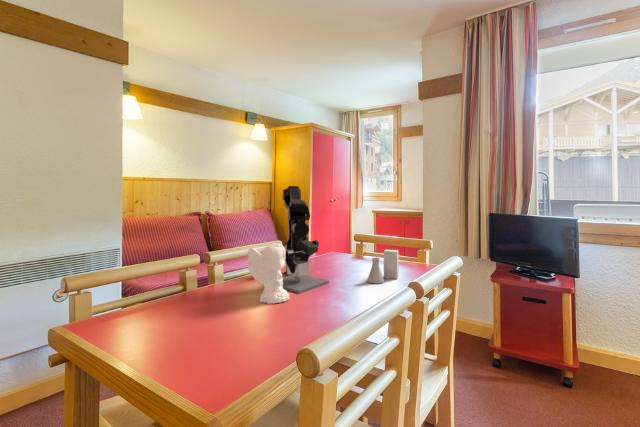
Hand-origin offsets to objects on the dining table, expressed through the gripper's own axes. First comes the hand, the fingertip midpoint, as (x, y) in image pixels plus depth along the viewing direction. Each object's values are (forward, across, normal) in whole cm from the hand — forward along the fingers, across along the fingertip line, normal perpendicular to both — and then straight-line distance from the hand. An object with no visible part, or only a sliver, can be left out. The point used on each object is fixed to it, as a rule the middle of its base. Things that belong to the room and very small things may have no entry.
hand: (298, 271), depth 137 cm
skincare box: (+5, +33, -25) cm, 42 cm away
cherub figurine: (+5, -20, -5) cm, 21 cm away
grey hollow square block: (+1, 0, 0) cm, 1 cm away
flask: (+5, +23, -23) cm, 33 cm away
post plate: (+5, 0, 0) cm, 5 cm away
